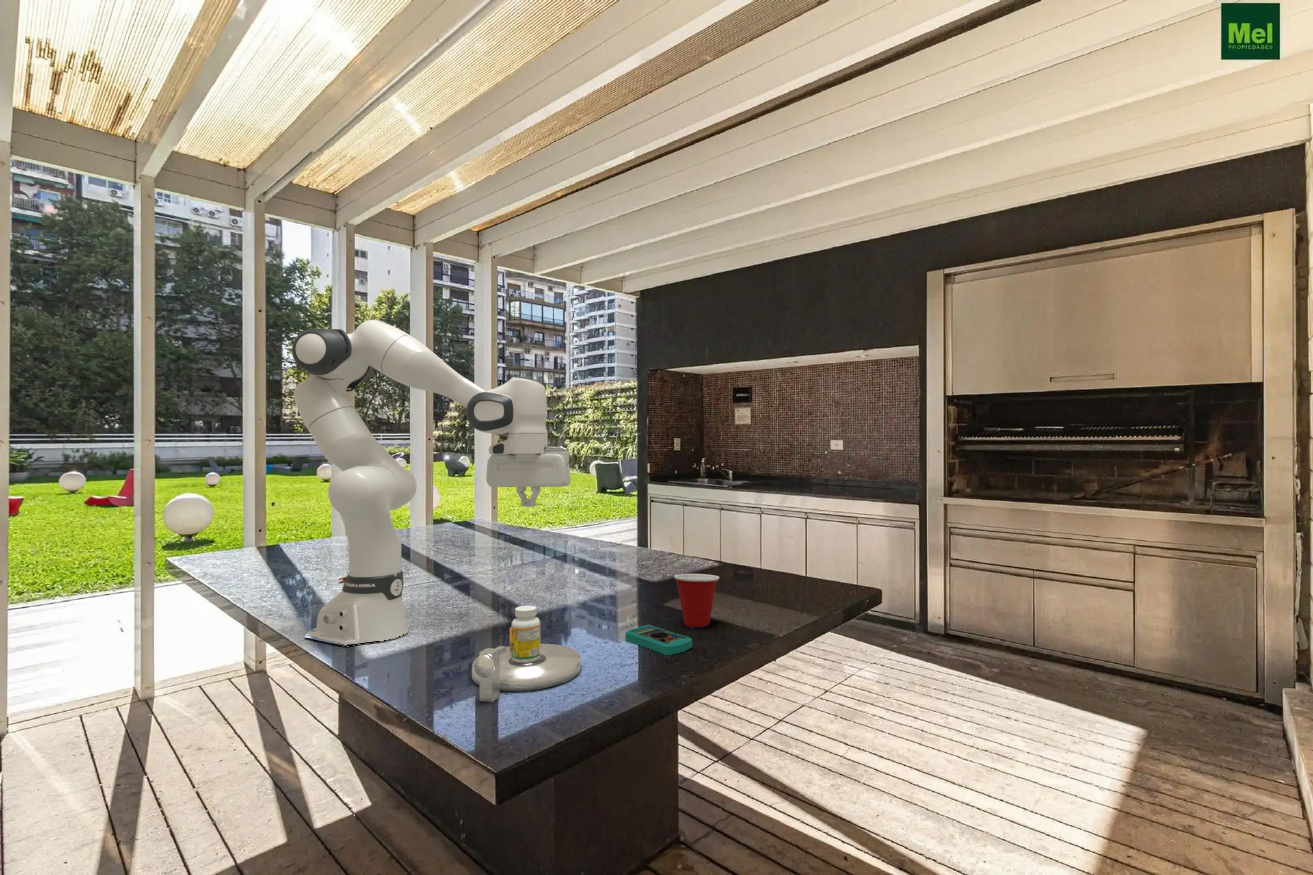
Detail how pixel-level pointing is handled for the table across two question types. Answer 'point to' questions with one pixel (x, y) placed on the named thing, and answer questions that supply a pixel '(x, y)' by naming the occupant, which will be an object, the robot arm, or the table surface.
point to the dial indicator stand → (489, 672)
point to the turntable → (537, 668)
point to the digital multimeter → (658, 640)
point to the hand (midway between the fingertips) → (528, 506)
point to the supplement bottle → (526, 635)
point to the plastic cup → (696, 597)
